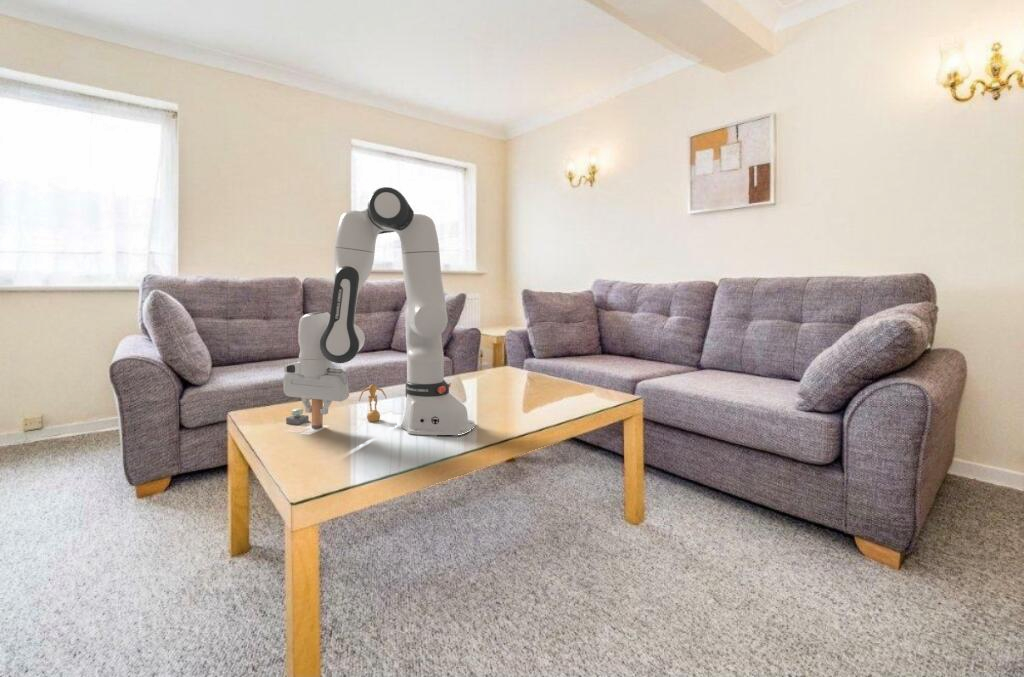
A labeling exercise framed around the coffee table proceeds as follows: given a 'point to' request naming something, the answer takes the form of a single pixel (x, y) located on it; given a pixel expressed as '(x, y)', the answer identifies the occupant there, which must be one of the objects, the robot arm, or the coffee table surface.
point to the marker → (317, 414)
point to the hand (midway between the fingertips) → (316, 413)
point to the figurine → (373, 414)
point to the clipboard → (303, 428)
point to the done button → (297, 412)
